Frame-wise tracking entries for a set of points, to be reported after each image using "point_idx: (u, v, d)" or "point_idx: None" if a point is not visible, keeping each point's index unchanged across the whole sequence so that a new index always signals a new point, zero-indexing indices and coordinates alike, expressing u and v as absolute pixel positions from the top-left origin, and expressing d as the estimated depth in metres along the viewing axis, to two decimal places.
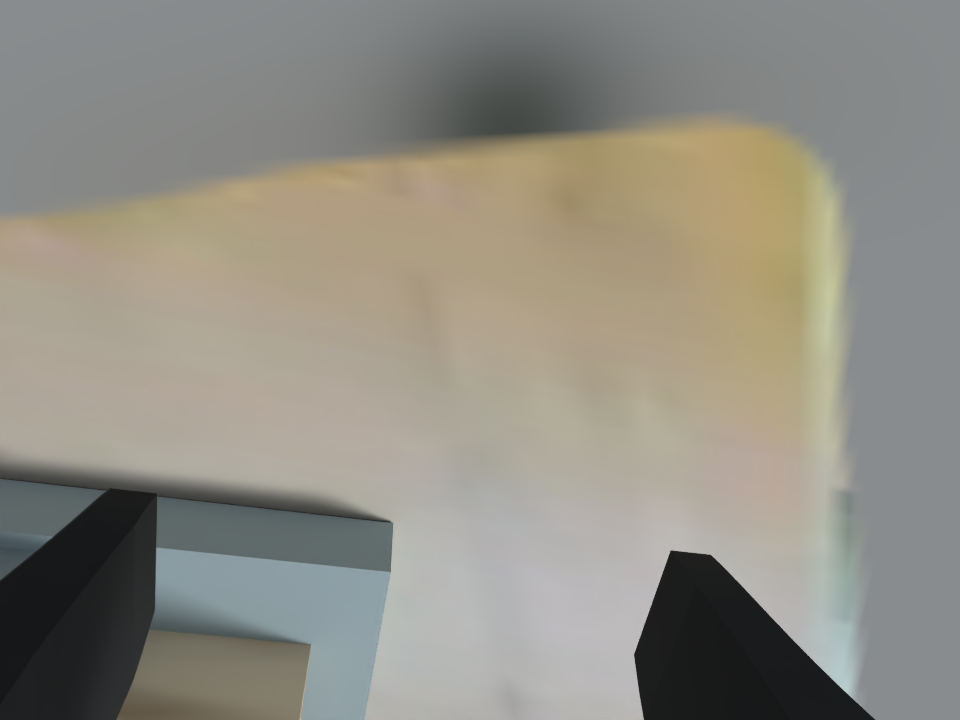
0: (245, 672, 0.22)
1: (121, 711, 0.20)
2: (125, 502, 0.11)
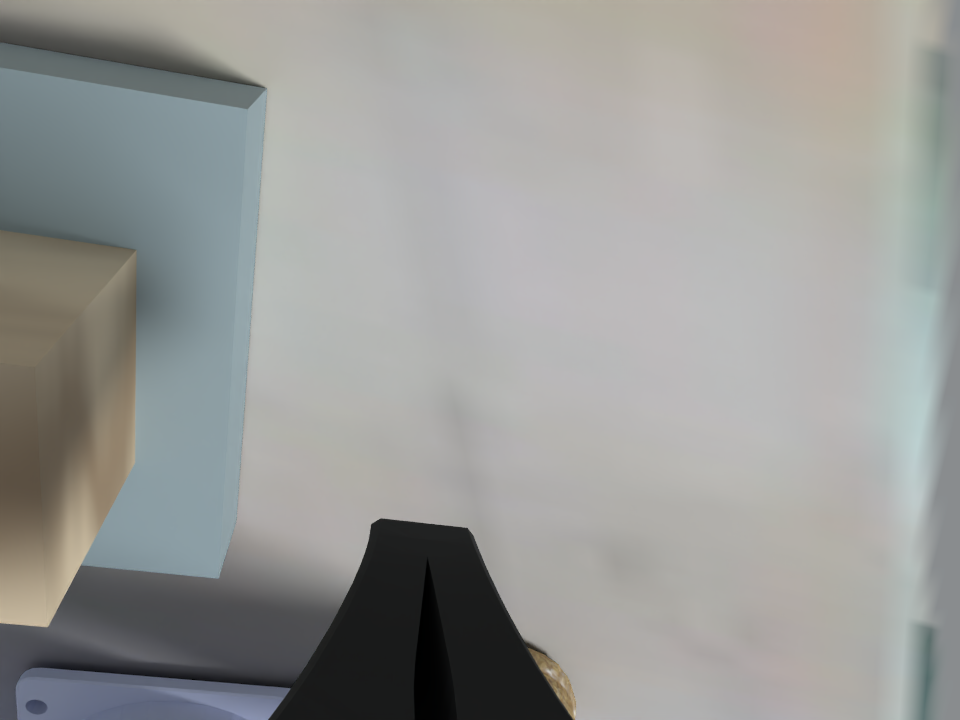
0: (19, 259, 0.14)
1: None
2: (403, 531, 0.11)
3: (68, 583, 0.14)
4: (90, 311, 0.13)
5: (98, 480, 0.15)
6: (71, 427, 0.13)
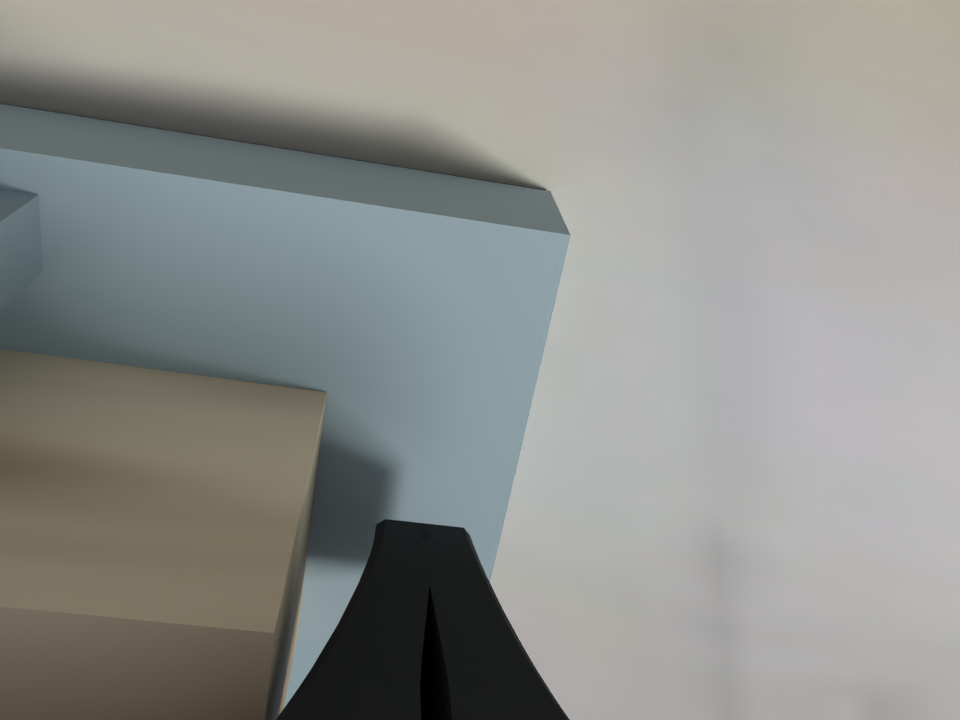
0: (193, 420, 0.11)
1: None
2: (409, 532, 0.11)
3: None
4: (302, 505, 0.10)
5: (282, 694, 0.11)
6: (280, 662, 0.10)
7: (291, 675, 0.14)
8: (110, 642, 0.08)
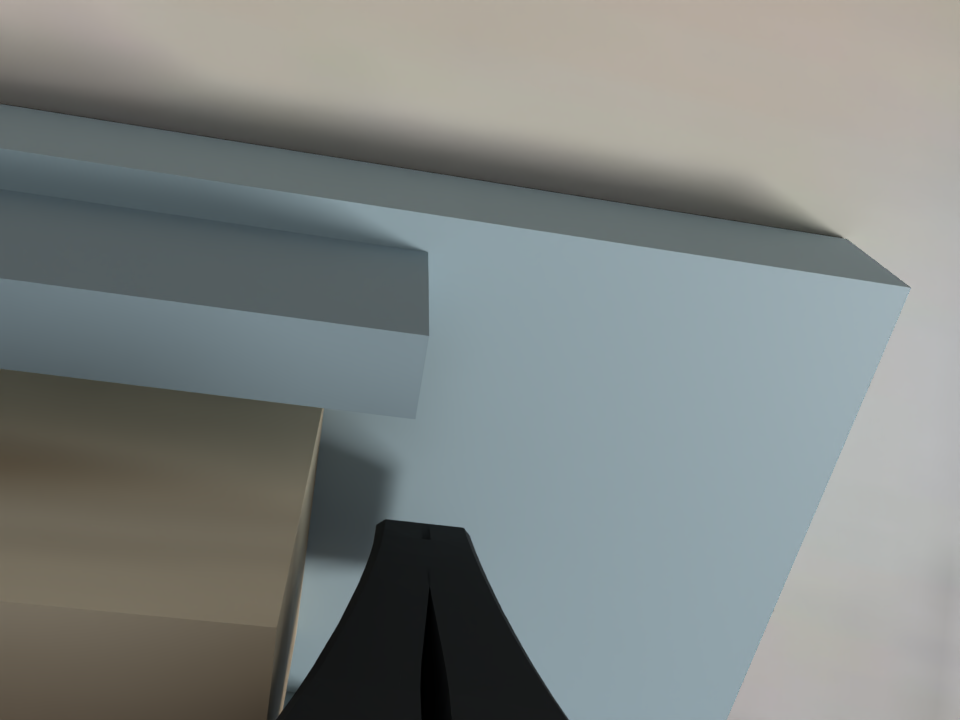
0: (193, 416, 0.11)
1: None
2: (408, 532, 0.11)
3: None
4: (303, 501, 0.10)
5: (282, 691, 0.11)
6: (281, 659, 0.10)
7: (570, 698, 0.15)
8: (112, 638, 0.08)
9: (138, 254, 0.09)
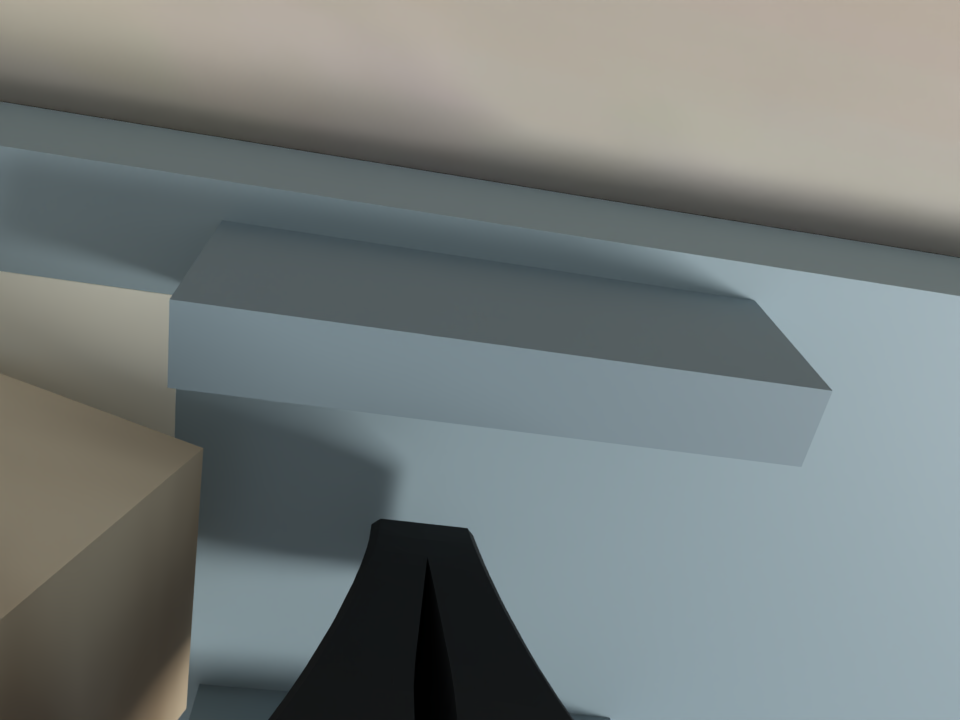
0: (22, 452, 0.10)
1: None
2: (403, 531, 0.11)
3: None
4: (57, 581, 0.08)
5: None
6: None
7: (809, 718, 0.15)
8: None
9: (536, 310, 0.10)
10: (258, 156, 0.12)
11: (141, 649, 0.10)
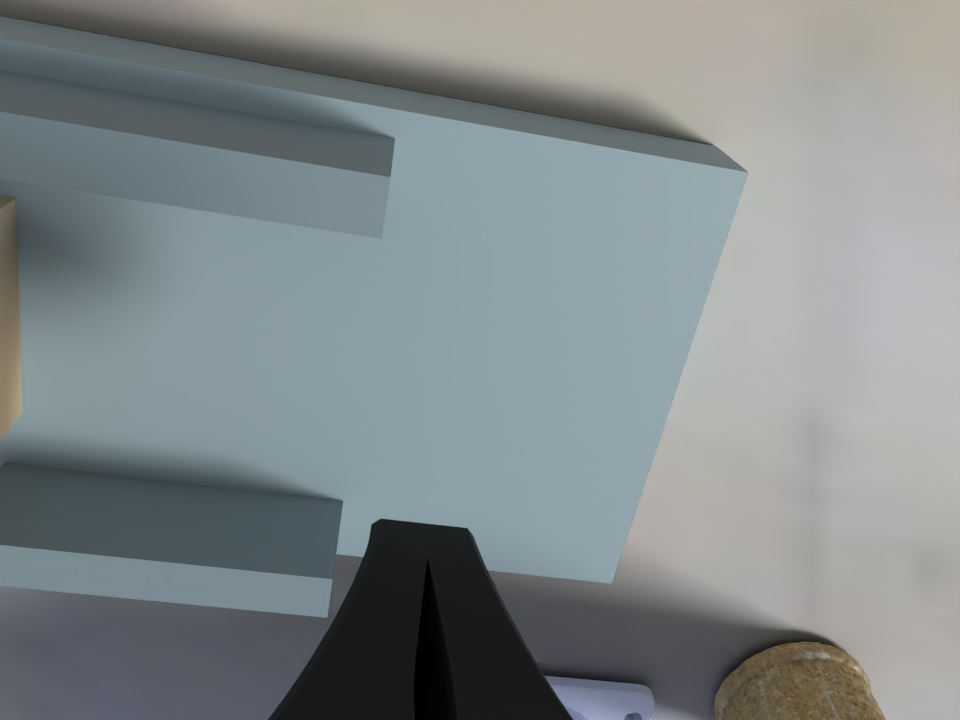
0: None
1: None
2: (403, 531, 0.11)
3: None
4: None
5: None
6: None
7: (507, 506, 0.19)
8: None
9: (192, 124, 0.14)
10: (20, 26, 0.15)
11: None
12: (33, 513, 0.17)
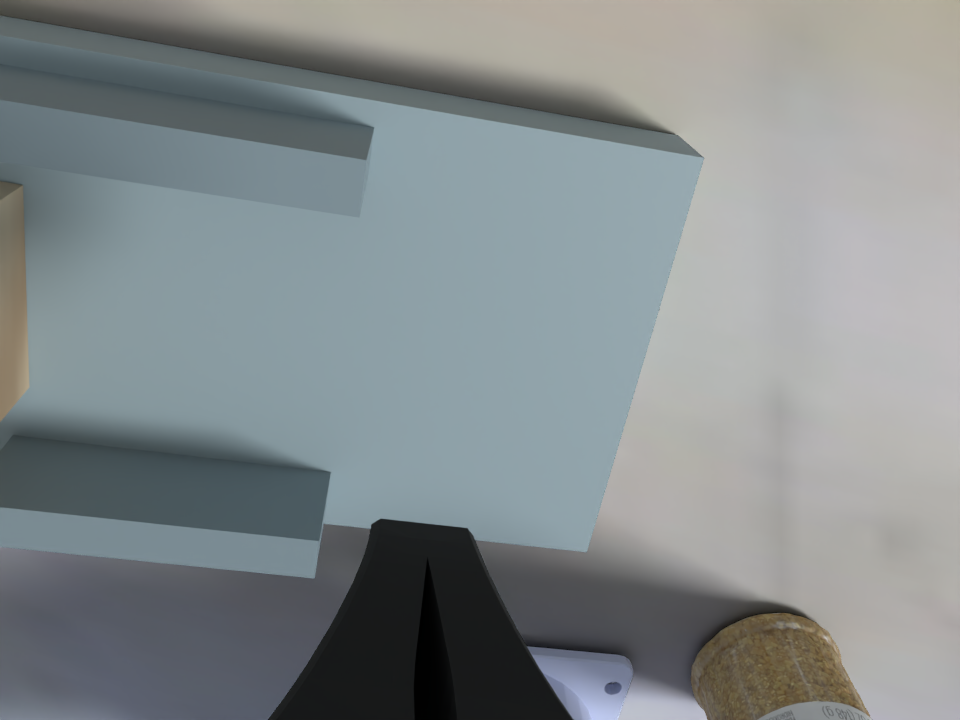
0: None
1: None
2: (403, 532, 0.11)
3: None
4: None
5: None
6: None
7: (486, 477, 0.20)
8: None
9: (185, 114, 0.15)
10: (27, 26, 0.17)
11: (3, 315, 0.17)
12: (39, 480, 0.18)
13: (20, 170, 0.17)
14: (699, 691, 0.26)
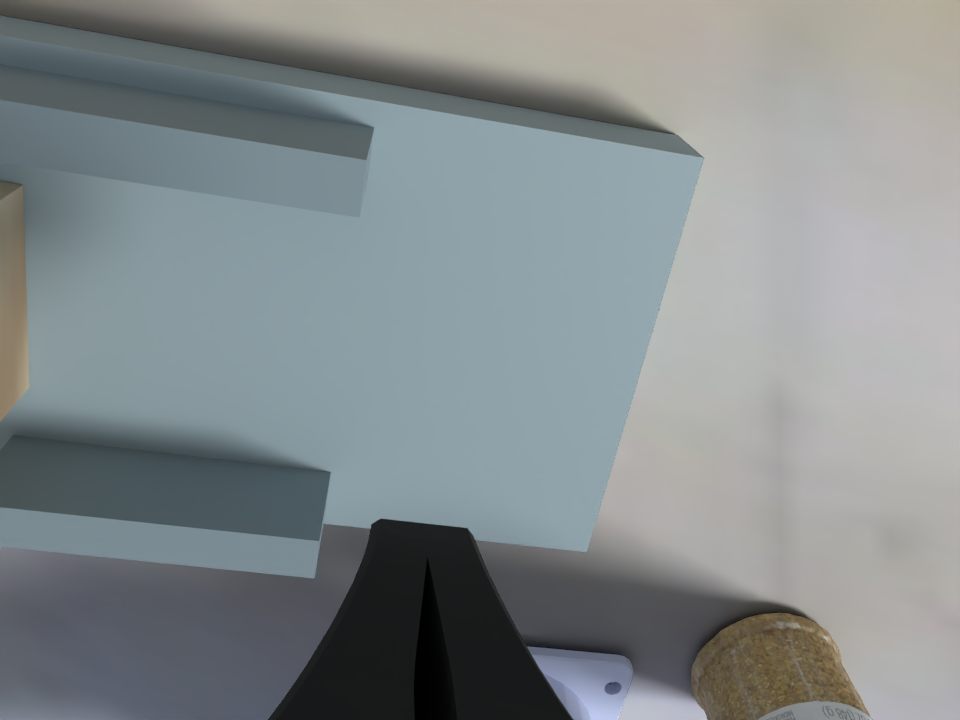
0: None
1: None
2: (403, 532, 0.11)
3: None
4: None
5: None
6: None
7: (486, 477, 0.20)
8: None
9: (185, 114, 0.15)
10: (27, 26, 0.17)
11: (3, 315, 0.17)
12: (39, 480, 0.18)
13: (20, 170, 0.17)
14: (699, 691, 0.26)
